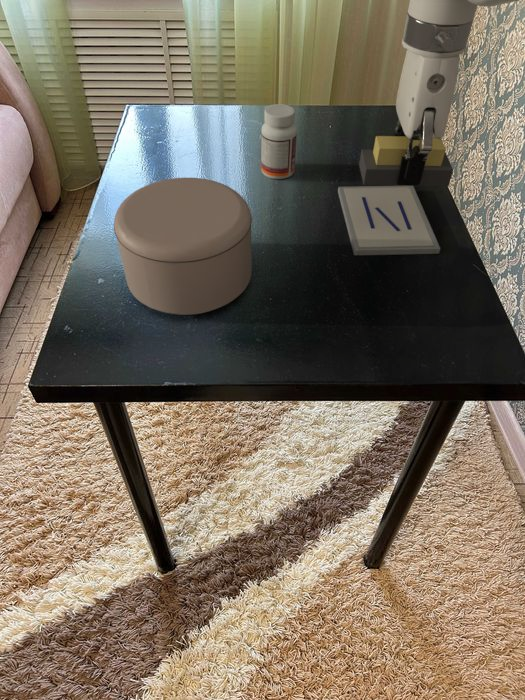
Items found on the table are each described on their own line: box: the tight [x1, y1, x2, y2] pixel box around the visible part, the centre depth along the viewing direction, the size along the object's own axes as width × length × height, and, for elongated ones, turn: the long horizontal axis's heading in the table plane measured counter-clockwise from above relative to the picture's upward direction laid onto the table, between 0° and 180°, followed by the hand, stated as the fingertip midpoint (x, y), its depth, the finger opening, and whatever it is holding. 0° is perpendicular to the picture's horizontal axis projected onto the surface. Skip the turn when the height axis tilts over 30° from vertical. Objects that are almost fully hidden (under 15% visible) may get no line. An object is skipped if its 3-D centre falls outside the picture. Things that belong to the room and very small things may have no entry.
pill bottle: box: [260, 103, 298, 180], centre depth 94 cm, size 6×6×11 cm
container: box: [113, 177, 253, 316], centre depth 74 cm, size 18×18×12 cm
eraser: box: [358, 135, 454, 187], centre depth 75 cm, size 12×6×5 cm, turn 90°
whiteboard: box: [337, 185, 441, 256], centre depth 88 cm, size 18×13×1 cm
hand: (404, 171), depth 77 cm, fingers closed on eraser, 5 cm apart
